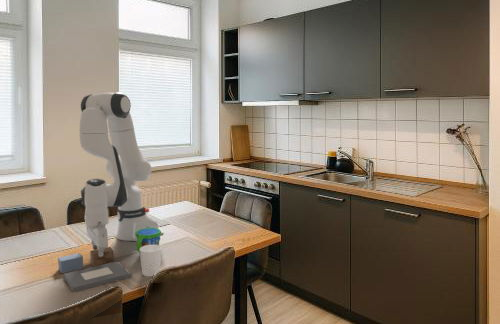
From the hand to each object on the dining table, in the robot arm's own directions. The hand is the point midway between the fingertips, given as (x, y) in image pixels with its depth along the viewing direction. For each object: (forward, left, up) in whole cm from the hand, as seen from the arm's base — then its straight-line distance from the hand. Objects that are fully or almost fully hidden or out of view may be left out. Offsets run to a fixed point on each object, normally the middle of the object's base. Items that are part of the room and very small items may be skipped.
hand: (97, 252), depth 162 cm
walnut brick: (-2, 0, -4) cm, 5 cm away
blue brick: (+10, 0, -4) cm, 11 cm away
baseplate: (+4, +14, -4) cm, 15 cm away
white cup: (-14, +22, -5) cm, 26 cm away
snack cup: (-21, +3, -5) cm, 21 cm away
